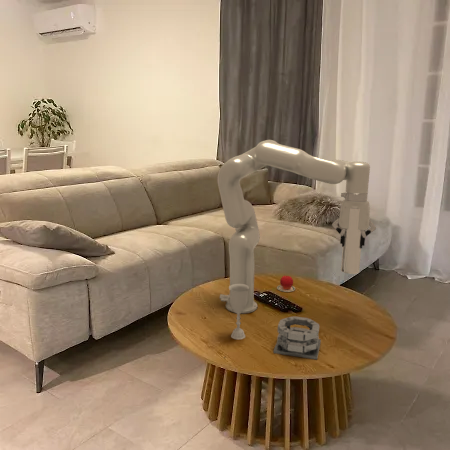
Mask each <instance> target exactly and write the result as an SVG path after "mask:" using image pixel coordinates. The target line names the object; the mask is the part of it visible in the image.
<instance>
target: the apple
mask: <svg viewBox="0 0 450 450" xmlns="http://www.w3.org/2000/svg"><path fill="white" fill-rule="evenodd" d="M293 285H294V279H293V278H292V277H291V276H290V275H283V276H282V277H280V281H279V285H277V287H276V289H277V290H278V291H280V292H285V293H289V292H294V291H296V287H295V286H293Z"/></svg>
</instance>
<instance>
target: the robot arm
mask: <svg viewBox="0 0 450 450" xmlns="http://www.w3.org/2000/svg"><path fill="white" fill-rule="evenodd" d="M267 166H269V167H272V168H275V169H280V170H283V171H286V172H287V171H288V172H291V173H294V174H297V175H299V176H302V177H306V178H308V179H311V180H314V181H319V182H322V183H325V184H329V185H337V184H341V183H343V181H346V183H345V192H341V194H340V198H343V200H342V202H341V206H340V213H339V217H338V218H337V219H336V220H335V221H334V222H333V223H332V224H331V227H333V228H334V229H335V230H336V232H337V233H338V234H339V235H340V241H339V243H340V244H341V246H342V248H343V246H344V240H345V236H344V233H345V231H346V229H349V219H350V217H349V215H350V208H352V206H358V207H357V209H360V211H359V221H358V230H362V238H361V244H360V248H361V249H363V247H364V246H365V244H366V243H365V241H366V238H367V237H368V236H369V235H370V234H371V233H373V232H374V231H375V230H376V229H377V226H376V225H375V224H374V223H373V222H372V220H371V219H370V217H371V216H370V213H371V211H370V209H371V208H370V207H371V206H370V201H368V193H369V182H370V172H371V171H370V170H371V165H370V163H368V162H365V161H348V160H341V159H333V160H327V159H323V158H319V157H316V156H313V155H311V154H309V153H307V152H306V151H304V150H303V149H301V148H296V147H293V146H290V145H284V144H280V143H278V142H277V141H276V140H272V139H266V140H262V141H260V142H258V143H257V145H256V146H255V147H252V148H250V149H249V150H247V151H246V152H244V153H241V154H240V155H236V156H234V157H231V158H229V159H228V160H227V161H226V162H224V164H222V166H220V169H219V171H218V174H217V186H218V187H217V188H218V191H219V194H220V195H219V196H220V199H221V200H220V201H221V205H222V209H223V214H224V218H225V221H226V223H227V225H228V226H229V227H230V228H234V229H235V232H234V233H233V234H232V235H231V236H230V238H229V241H228V253H229V286H231V285H234V284H245V285H247V286H249V289H248V295H247V304H246V306H245V308H244V310H243V312H242V313H241V314H250V313H252V312H255V311H256V310H257V309H258V303H257V302H256V301H255V300H254V298H255V296H254V293H255V290H254V289H255V254H254V253H255V252H254V251H255V248H256V247H257V245H258V243H259V242H260V237H261V236H260V229H259V225H258V221H257V215H256V211H255V209H254V206H253V205H252V203H251V202H250V201H248V200H247V199H245V198H244V193H243V192H244V191H243V189H242V186H241V180H243V179H244V178H246V177H248V176H250V175H252V174H254V173H255V172H257V171H260V170H261V169H263V168H265V167H267ZM219 300H220V301H221V302H226V303H225V308H226V309H227V310H228V311H229V312H230V313H231V312H232V313H234V314H236V313H235V312H234V310H233V308H232V305H231V302H230V294H221V293H220V294H219Z"/></svg>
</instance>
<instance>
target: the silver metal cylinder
mask: <svg viewBox="0 0 450 450" xmlns="http://www.w3.org/2000/svg"><path fill="white" fill-rule="evenodd" d="M357 207H358V206H352V208H350V215H349V217H350V219H349V229H346V231H345V233H344V236H345V240H344V246H343V247H342V252H341V264H340V271H341V273H343V274H344V273H345V274H347V275H349V274H350V275H356V274H359V273H360V265H361V255H362V248H360V244H361V238H362V230H358V221H359V211H360V209H357Z"/></svg>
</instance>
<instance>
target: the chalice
mask: <svg viewBox="0 0 450 450" xmlns="http://www.w3.org/2000/svg"><path fill="white" fill-rule="evenodd" d="M228 289H229V295H230V302H231V305H232V308H233V310H234V312H235V313H234V312H233V313H234V314H236V317H235V318H236V322H235V324H236V328H234V329H233V330H232V333H231V335H230V337H231V338H232V339H234V340H243V339H245V338H246V334H245V331H244V329H242V328H241V327H240V325H241V324H242V323H241V320H242V318H241V314H243V313H242V312H243V310H244V308H245V306H246V304H247V295H248V289H249V286H247V285H245V284H234V285H231V286H230V285H229V286H228Z"/></svg>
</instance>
